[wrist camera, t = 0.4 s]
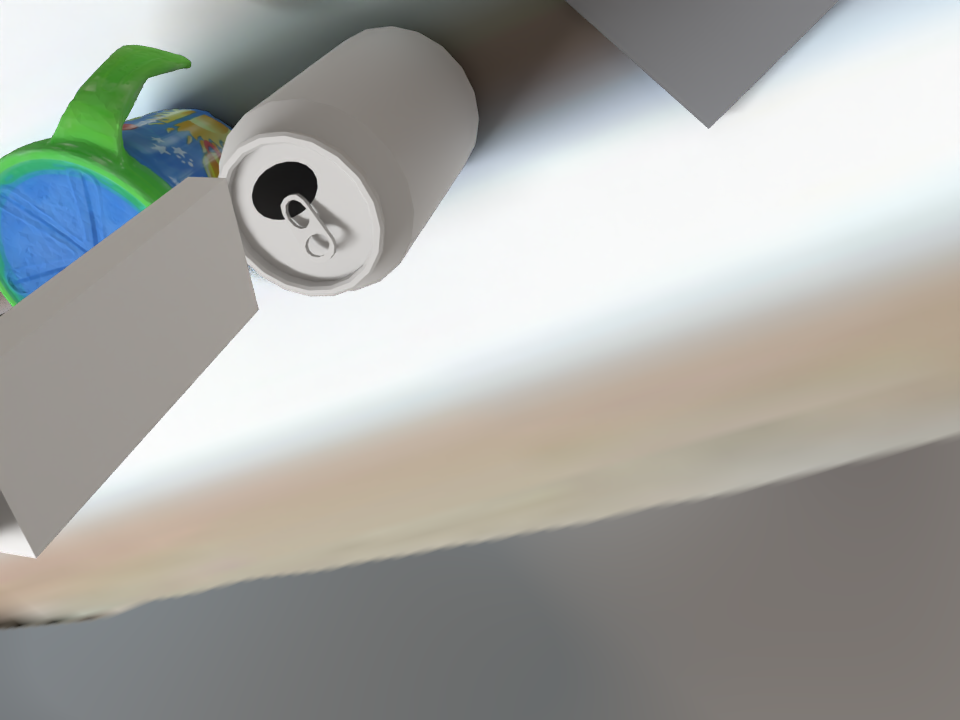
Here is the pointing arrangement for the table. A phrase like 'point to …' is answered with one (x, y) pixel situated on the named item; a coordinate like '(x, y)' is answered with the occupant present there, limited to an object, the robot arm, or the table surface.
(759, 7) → the dial base
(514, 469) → the table surface
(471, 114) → the can
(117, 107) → the snack cup
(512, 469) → the table surface
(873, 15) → the table surface
